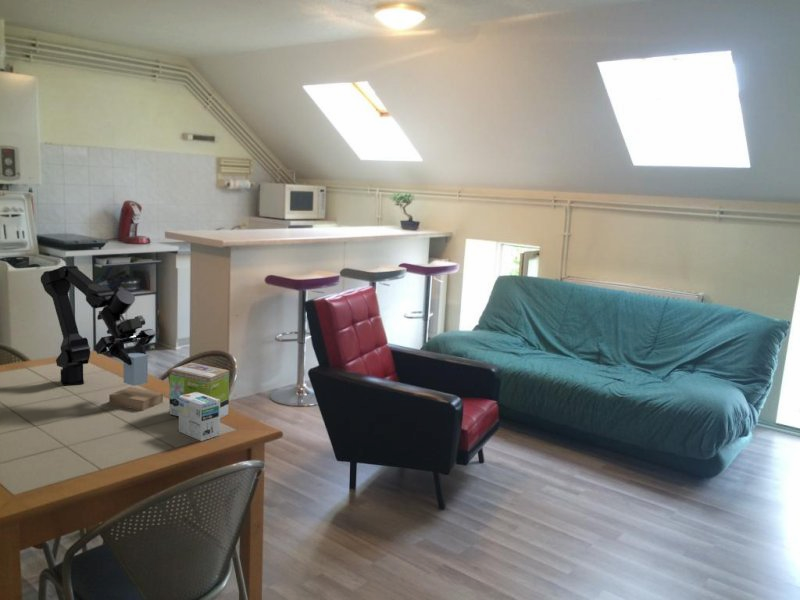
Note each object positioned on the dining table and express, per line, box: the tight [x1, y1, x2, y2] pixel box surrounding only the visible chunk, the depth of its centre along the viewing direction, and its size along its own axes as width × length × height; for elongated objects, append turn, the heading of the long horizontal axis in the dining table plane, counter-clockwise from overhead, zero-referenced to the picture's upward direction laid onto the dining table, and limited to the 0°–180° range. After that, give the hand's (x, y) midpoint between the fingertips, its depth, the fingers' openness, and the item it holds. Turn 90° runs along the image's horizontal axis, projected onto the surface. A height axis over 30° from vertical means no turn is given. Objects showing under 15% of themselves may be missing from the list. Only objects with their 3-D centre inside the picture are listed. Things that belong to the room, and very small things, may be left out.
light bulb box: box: [178, 392, 221, 442], centre depth 187 cm, size 11×7×11 cm, turn 54°
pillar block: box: [123, 351, 149, 387], centre depth 207 cm, size 5×5×9 cm
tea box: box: [168, 361, 230, 419], centre depth 201 cm, size 15×10×15 cm, turn 68°
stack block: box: [108, 386, 164, 412], centre depth 209 cm, size 9×13×4 cm
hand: (138, 363), depth 206 cm, fingers closed on pillar block, 5 cm apart
